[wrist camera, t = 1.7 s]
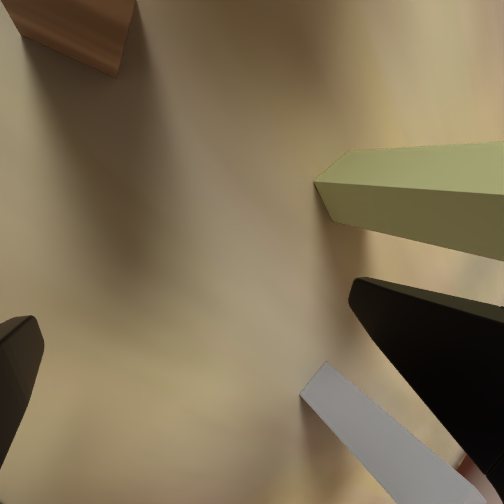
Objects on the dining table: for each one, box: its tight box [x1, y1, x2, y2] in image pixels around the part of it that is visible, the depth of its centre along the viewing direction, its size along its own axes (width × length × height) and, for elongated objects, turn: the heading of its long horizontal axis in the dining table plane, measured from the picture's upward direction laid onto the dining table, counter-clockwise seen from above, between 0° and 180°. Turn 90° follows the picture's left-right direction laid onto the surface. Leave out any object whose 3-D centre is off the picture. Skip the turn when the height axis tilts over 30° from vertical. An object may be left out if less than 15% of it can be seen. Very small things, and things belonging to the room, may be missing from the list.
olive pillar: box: [313, 141, 504, 261], centre depth 18 cm, size 4×4×13 cm
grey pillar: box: [300, 361, 487, 504], centre depth 24 cm, size 4×4×13 cm
